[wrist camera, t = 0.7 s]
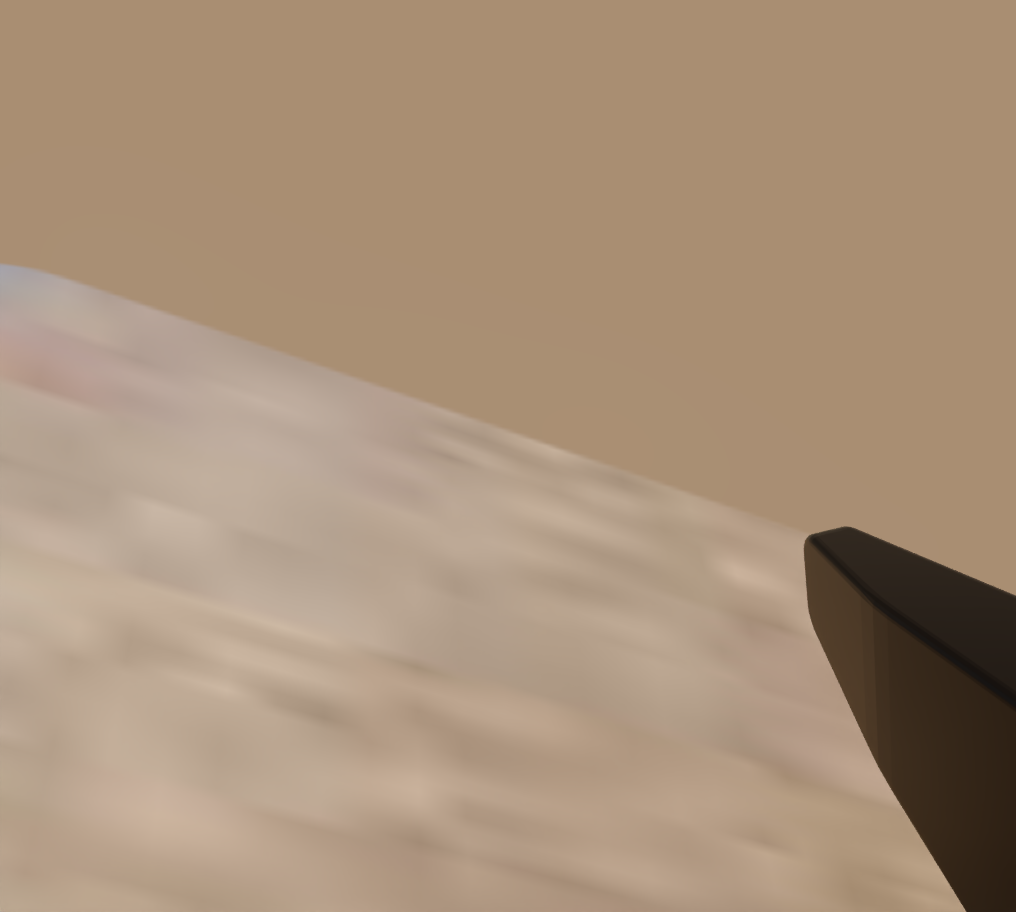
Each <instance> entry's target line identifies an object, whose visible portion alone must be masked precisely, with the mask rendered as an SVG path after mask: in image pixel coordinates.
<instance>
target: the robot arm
mask: <svg viewBox="0 0 1016 912" xmlns="http://www.w3.org/2000/svg"><path fill="white" fill-rule="evenodd" d="M804 561H805V574H806V587H807V600H808V609H809V614H810V618H811V622H812V624H813V627H814V630H815V632H816V634H817V637H818V639H819V641H820V643H821V645H822V647H823V650H824V652H825V654H826V656H827V658H828V660H829V663H830V665H831V667H832V669H833V671H834V673H835V675H836V678H837V680H838V682H839V684H840V686H841V688H842V691H843V693H844V695H845V697H846V699H847V701H848V704H849V706H850V708H851V710H852V712H853V714H854V716H855V719H856V721H857V723H858V725H859V727H860V729H861V732H862V734H863V736H864V738H865V740H866V742H867V745H868V747H869V749H870V751H871V753H872V755H873V757H874V759H875V761H876V763H877V765H878V767H879V769H880V771H881V772H882V774H883V776H884V778H885V779H886V781H887V783H888V784H889V786H890V788H891V790H892V791H893V793H894V795H895V796H896V798H897V800H898V801H899V803H900V804H901V806H902V808H903V809H904V811H905V813H906V814H907V816H908V817H909V819H910V821H911V822H912V824H913V826H914V827H915V829H916V830H917V832H918V834H919V835H920V837H921V839H922V840H923V842H924V843H925V845H926V847H927V848H928V850H929V852H930V853H931V855H932V856H933V858H934V860H935V861H936V863H937V865H938V866H939V868H940V869H941V871H942V873H943V874H944V876H945V878H946V879H947V881H948V883H949V884H950V886H951V887H952V889H953V891H954V892H955V894H956V896H957V897H958V899H959V900H960V902H961V904H962V905H963V907H964V909H965V910H966V912H1016V596H1015V595H1013V594H1010V593H1008V592H1006V591H1003V590H1001V589H999V588H996V587H994V586H991V585H989V584H986V583H984V582H982V581H979V580H977V579H975V578H972V577H970V576H967V575H965V574H963V573H960V572H958V571H956V570H953V569H950V568H948V567H946V566H944V565H941V564H939V563H936V562H934V561H932V560H929V559H927V558H924V557H922V556H919V555H917V554H915V553H912V552H910V551H908V550H905V549H903V548H901V547H898V546H896V545H893V544H891V543H889V542H886V541H884V540H881V539H879V538H877V537H874V536H872V535H869V534H867V533H865V532H862V531H860V530H858V529H855V528H852V527H840V528H836V529H832V530H828V531H823V532H819V533H815V534H811V535H809V536H808V538H807V539H806V540H805V544H804Z"/></svg>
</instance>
